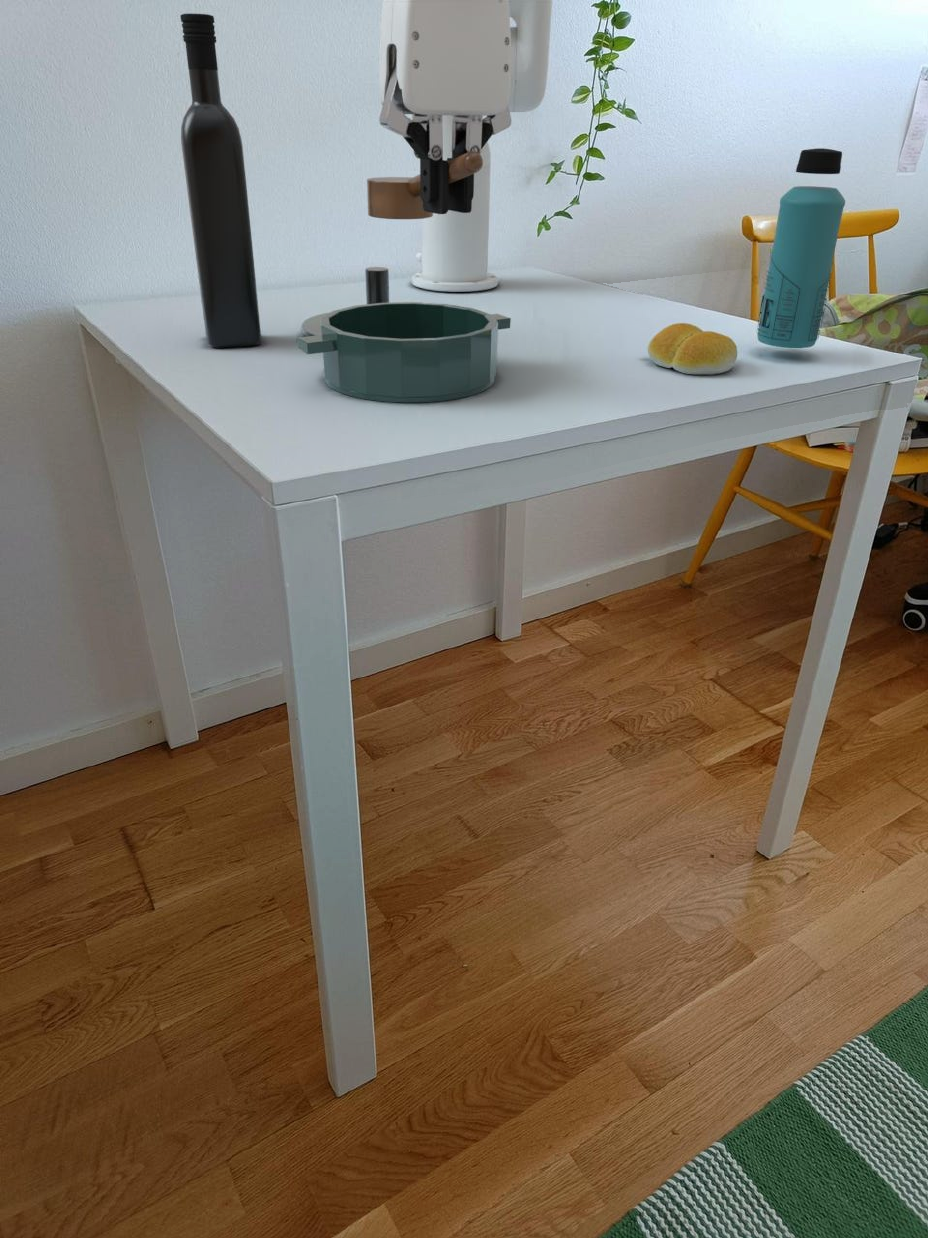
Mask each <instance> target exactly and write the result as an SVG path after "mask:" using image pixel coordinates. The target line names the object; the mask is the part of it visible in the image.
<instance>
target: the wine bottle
mask: <svg viewBox="0 0 928 1238" xmlns="http://www.w3.org/2000/svg"><path fill="white" fill-rule="evenodd" d="M180 22H181V27H182V34H183V35H182V40H183V42H184V43H185V51H186V61H187V69H188V75H189V84H190V93H191V105H190V106H189V107H188V109H187V111H186V112H185V114H184V116H183V118H182V123H181V125H180V143H181V153H182V159H183V168H184V174H185V182H186V191H187V198H188V206H189V207H188V208H189V213H190V221H191V230H192V238H193V245H194V253H195V261H196V269H197V277H198V284H199V292H200V299H201V307H202V315H203V322H204V323H203V325H204V331H205V336H206V339H207V340H206V341H207V344H208V345H209V346H210V347H212V348H215V349H224V348H239V347H240V348H241V347H255V346H258V345H260V344H261V343H262V331H261V321H260V310H259V300H258V290H257V289H258V288H257V280H256V269H255V259H254V249H253V248H254V247H253V240H252V239H253V238H252V228H251V218H250V208H249V197H248V187H247V177H246V168H245V167H246V166H245V156H244V146H243V140H242V135H241V131H240V128H239V125H238V123H237V122H236V120H235V118H234V117H233V115H232V114H231V113H230V111H229V110H228V109H227V108H226V107H225V106H224V104H223V103H222V102H223V101H222V99H221V97H222V96H221V87H220V78H219V70H218V69H219V68H218V59H217V51H216V43H217V36H215V35H216V30H215V25H214V24H215V17H214V15H212V14H207V13H182V14H180Z"/></svg>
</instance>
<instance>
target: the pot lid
mask: <svg viewBox="0 0 928 1238" xmlns="http://www.w3.org/2000/svg"><path fill="white" fill-rule="evenodd" d="M364 271H365V273H364V274H365V275H364V276H365V294H366V295H365V300H366V304H376V303H390V275H389V272H390V270H389V268H387V267H384V266H369V267H366V268H365V270H364ZM330 312H331V311H330ZM330 312H325V313H324V312H323V313H321V314H316V315H314V316H311V317H309V318H307V319H305V320H304V321H303V322H302V323H301V326H300V327H301V332H302V333H303V334H304V335H305V337H307V336H316V335H321V321H320V318H322V317H323V316H325V315H327V314H328V313H330Z"/></svg>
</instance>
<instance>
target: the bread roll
mask: <svg viewBox="0 0 928 1238" xmlns="http://www.w3.org/2000/svg"><path fill="white" fill-rule="evenodd" d="M647 344H648V345H647V353H648V356H649V358H650V360H651V361H652V362H653V363H654V364H655V365H657V366H660V367H662V368H666V369H667V368H668V369H671V368H673V369H674V370H675V371H676V372H677V371H678V372H680V373H681V374H687V375H719V374H722V373H726V372H729V371H730V370H731V369H733V367H734V366H735V365H736V360H737V358H738V348H737V345H736V343H735V341H734V340H733V339H732V338H731V337H729V336H727V335H725V334H722V333H719V332H716V331H711V330H706V331H704V330H702V329H701V328H700V327H698V326H697V325H694V324H691V323H687V322H678V323H672V324H670V325H668V326H666V327H664V328H662V329H661V331H659V332H657V334H655V335H654V336H653V337H652V338H651V339H650V341H649V342H648V343H647Z"/></svg>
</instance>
